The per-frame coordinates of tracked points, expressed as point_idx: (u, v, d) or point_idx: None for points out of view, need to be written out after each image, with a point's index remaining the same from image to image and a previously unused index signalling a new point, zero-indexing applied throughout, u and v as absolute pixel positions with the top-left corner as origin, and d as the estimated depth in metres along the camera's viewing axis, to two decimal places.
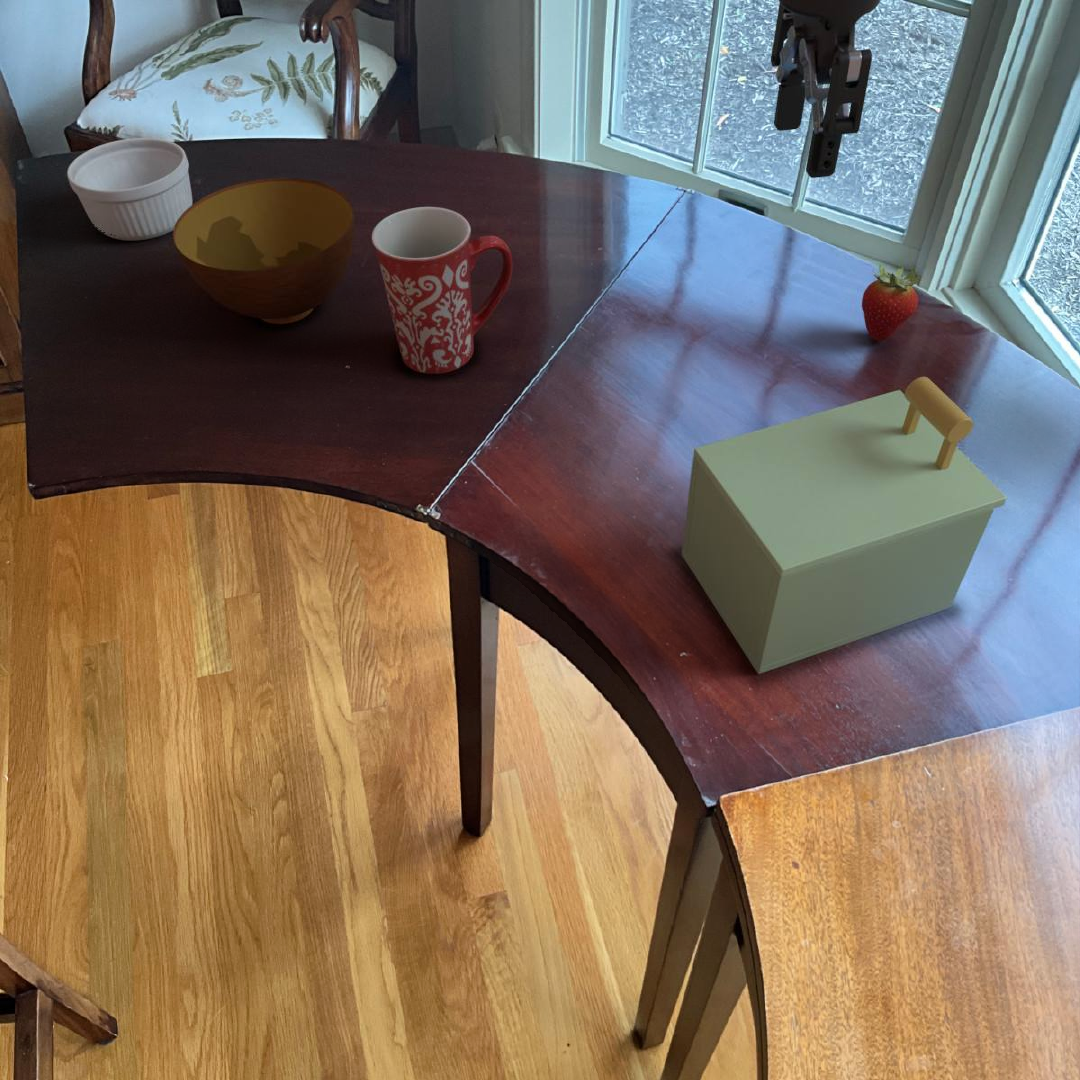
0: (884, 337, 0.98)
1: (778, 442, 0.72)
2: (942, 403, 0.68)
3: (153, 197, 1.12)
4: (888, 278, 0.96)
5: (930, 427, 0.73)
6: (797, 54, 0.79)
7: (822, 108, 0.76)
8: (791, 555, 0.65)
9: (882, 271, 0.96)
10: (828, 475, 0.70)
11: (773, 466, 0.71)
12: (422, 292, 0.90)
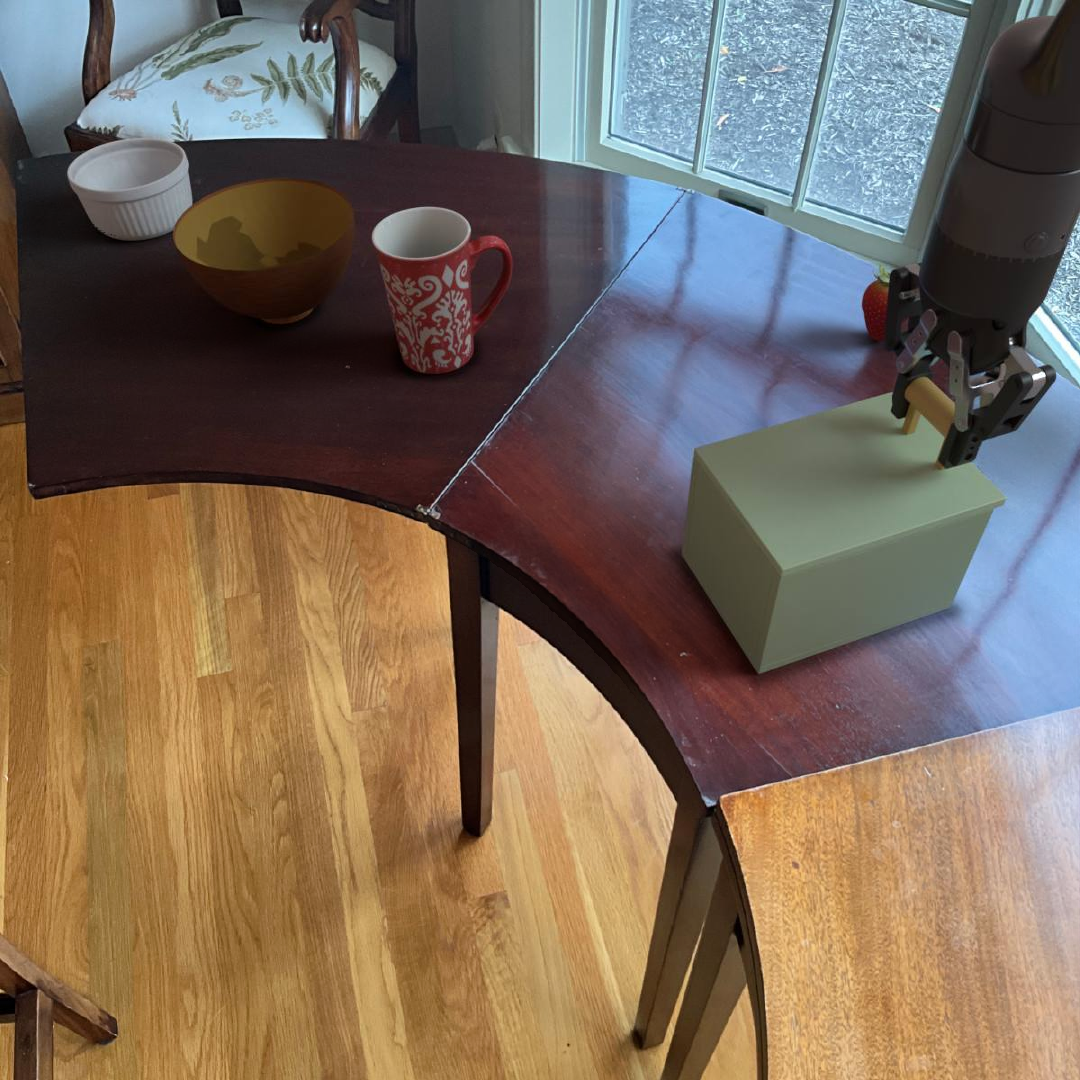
0: None
1: (778, 442, 0.72)
2: (942, 403, 0.68)
3: (153, 197, 1.12)
4: (888, 278, 0.96)
5: (930, 428, 0.73)
6: None
7: (971, 408, 0.64)
8: (791, 555, 0.65)
9: (882, 271, 0.96)
10: (828, 475, 0.70)
11: (773, 466, 0.71)
12: (422, 292, 0.90)
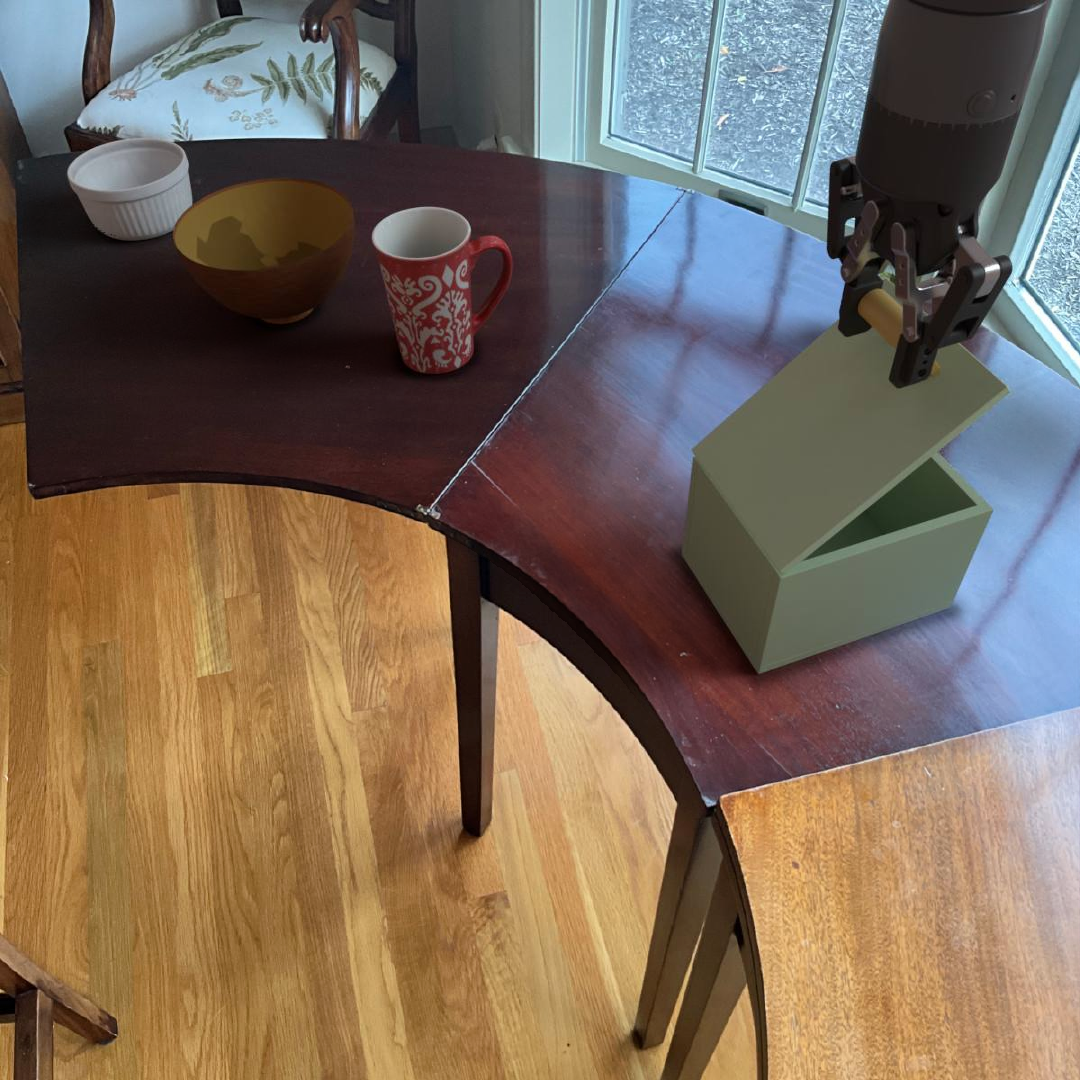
0: None
1: (766, 409, 0.69)
2: (889, 323, 0.60)
3: (153, 197, 1.12)
4: (888, 278, 0.96)
5: None
6: None
7: (920, 313, 0.56)
8: (785, 551, 0.64)
9: None
10: (816, 433, 0.66)
11: (763, 443, 0.68)
12: (422, 292, 0.90)
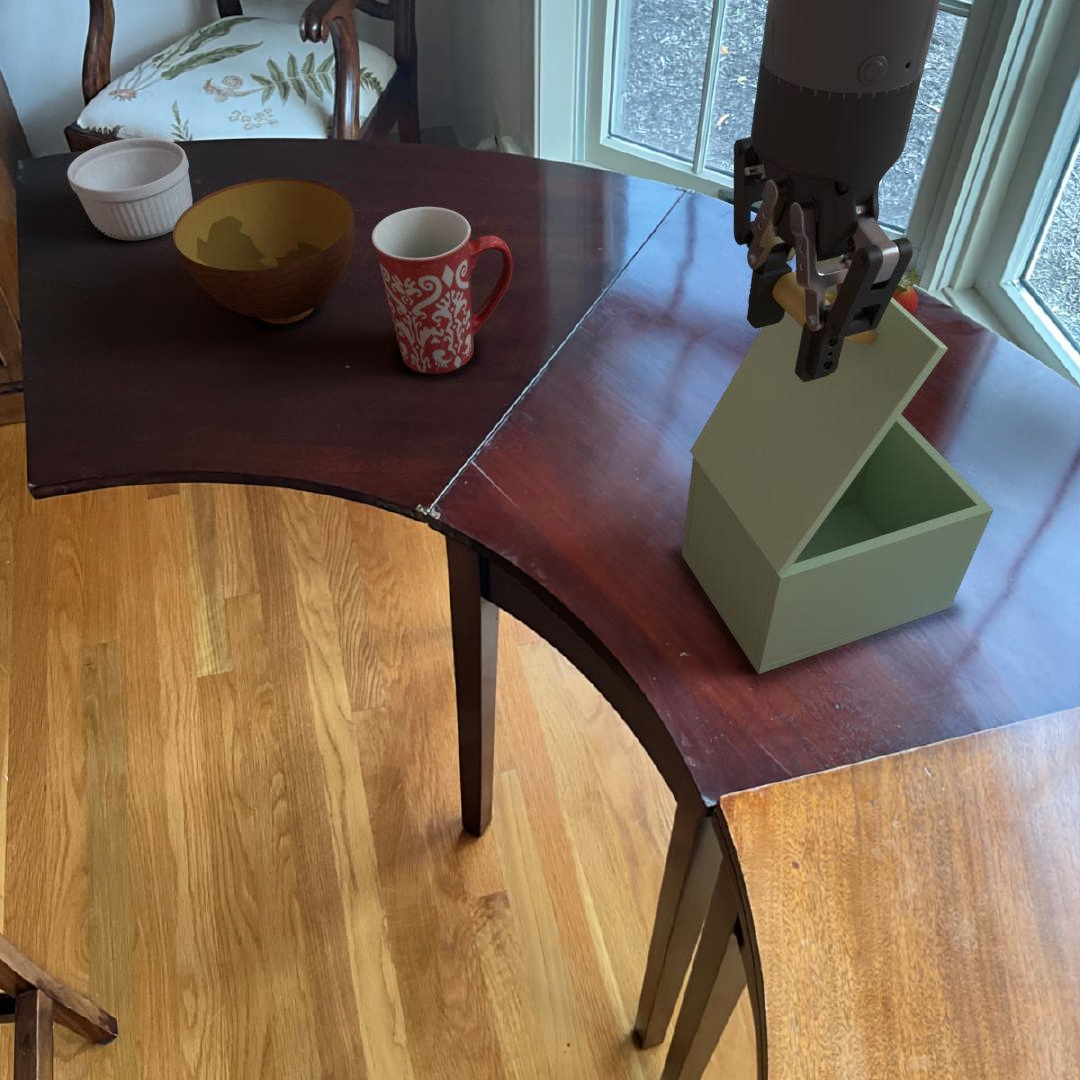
0: None
1: (740, 400, 0.68)
2: (799, 314, 0.57)
3: (153, 197, 1.12)
4: None
5: None
6: None
7: (822, 301, 0.53)
8: (778, 551, 0.64)
9: None
10: (784, 421, 0.64)
11: (744, 437, 0.67)
12: (422, 292, 0.90)
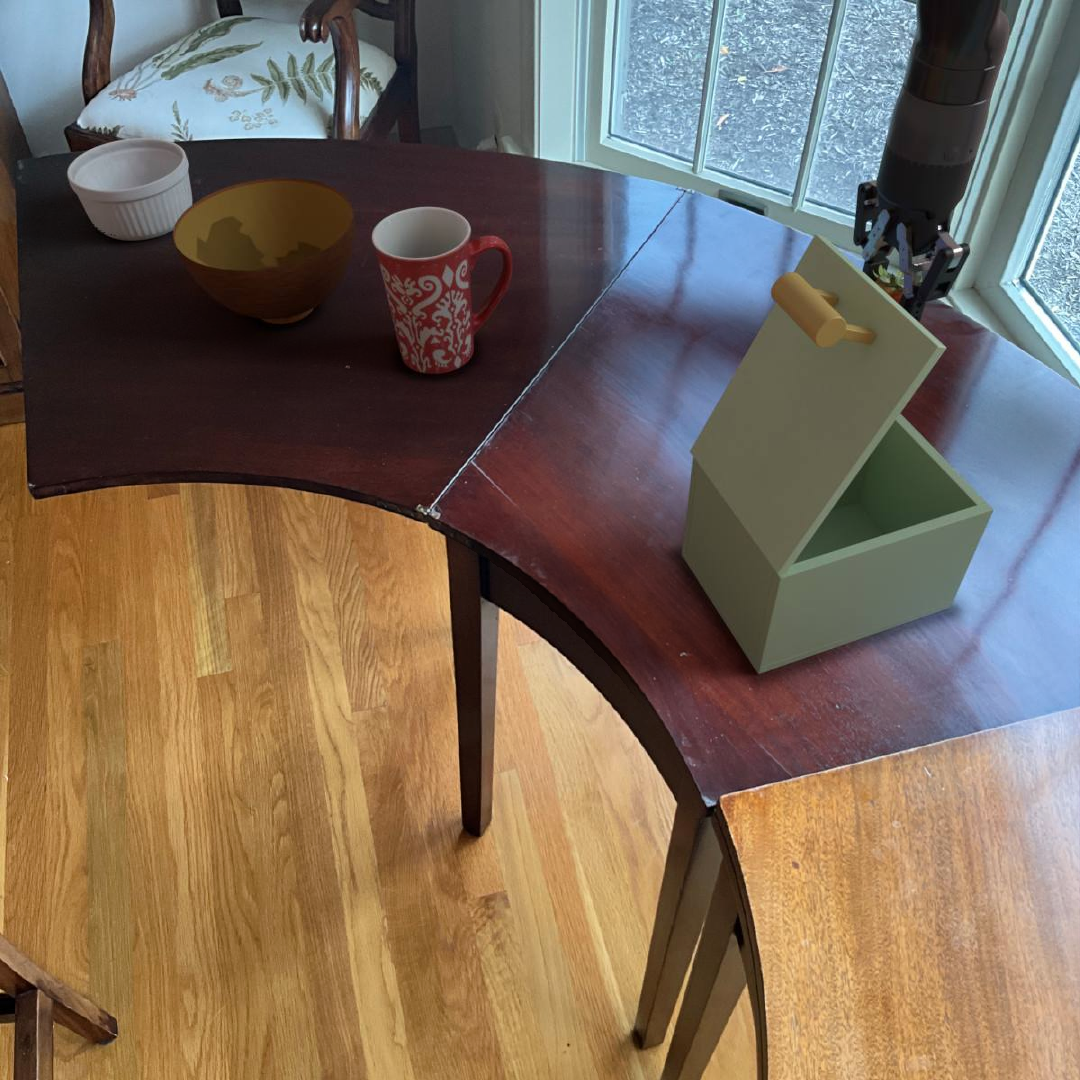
0: None
1: (740, 400, 0.68)
2: (797, 315, 0.57)
3: (153, 197, 1.12)
4: (888, 278, 0.96)
5: (851, 278, 0.59)
6: None
7: (914, 280, 0.90)
8: (778, 551, 0.64)
9: (882, 271, 0.96)
10: (783, 421, 0.64)
11: (743, 437, 0.67)
12: (422, 292, 0.90)
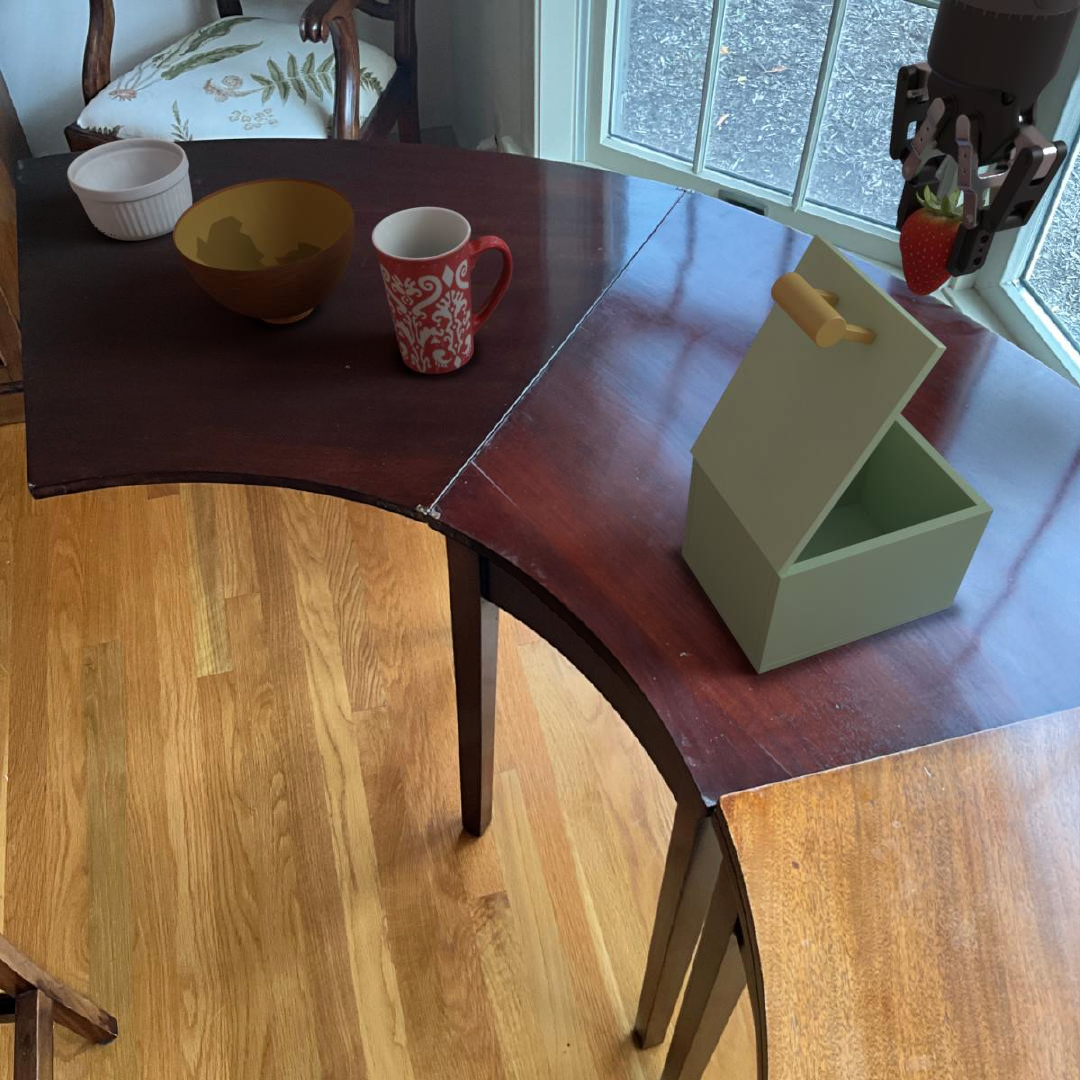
0: (930, 290, 0.70)
1: (740, 400, 0.68)
2: (797, 315, 0.57)
3: (153, 197, 1.12)
4: (937, 205, 0.68)
5: (851, 278, 0.59)
6: None
7: (980, 201, 0.62)
8: (778, 551, 0.64)
9: (929, 195, 0.68)
10: (783, 421, 0.64)
11: (743, 437, 0.67)
12: (422, 292, 0.90)
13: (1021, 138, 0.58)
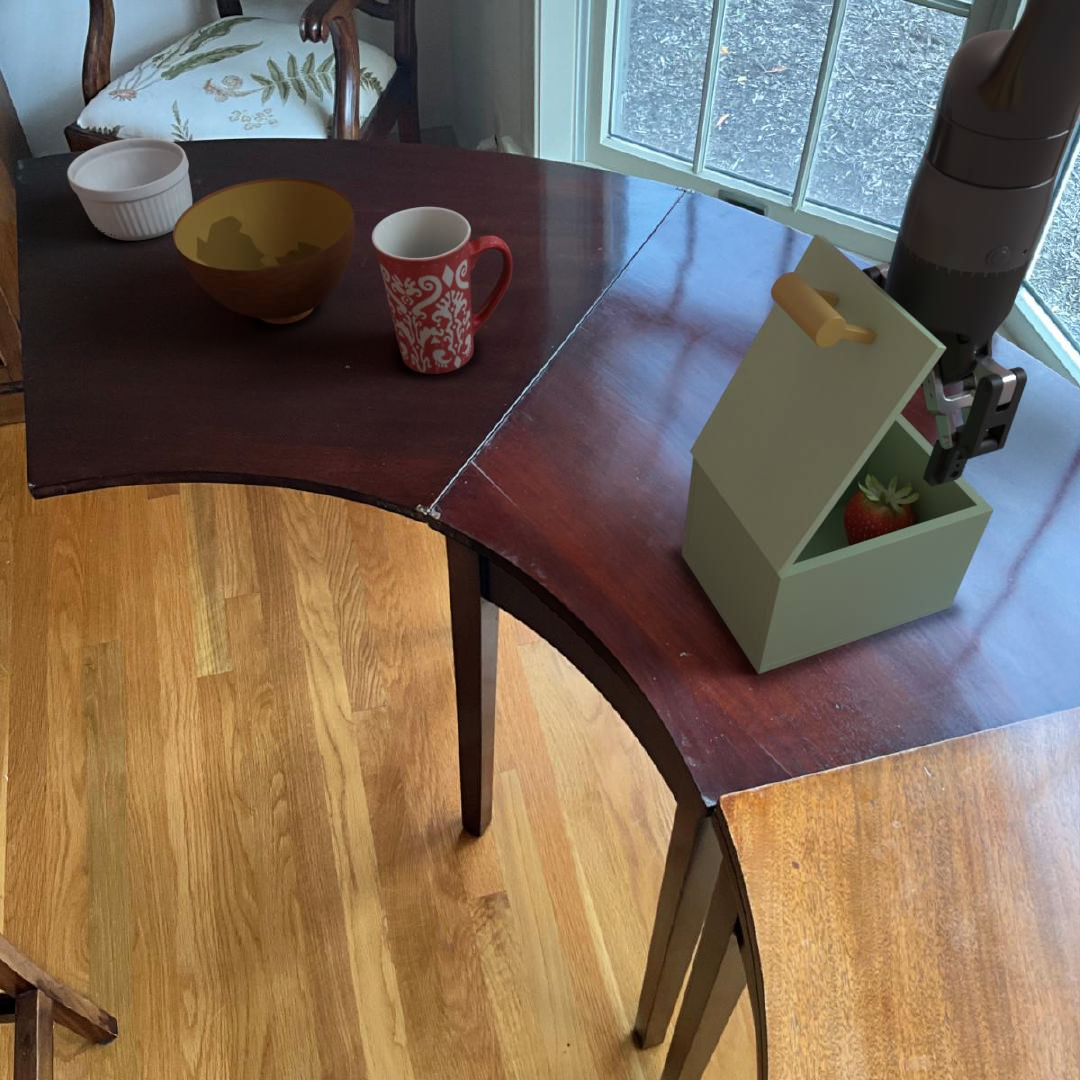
0: None
1: (740, 400, 0.68)
2: (797, 315, 0.57)
3: (153, 197, 1.12)
4: (877, 490, 0.75)
5: (851, 278, 0.59)
6: None
7: (952, 422, 0.63)
8: (778, 551, 0.64)
9: (870, 481, 0.75)
10: (783, 421, 0.64)
11: (743, 437, 0.67)
12: (422, 292, 0.90)
13: (979, 368, 0.60)
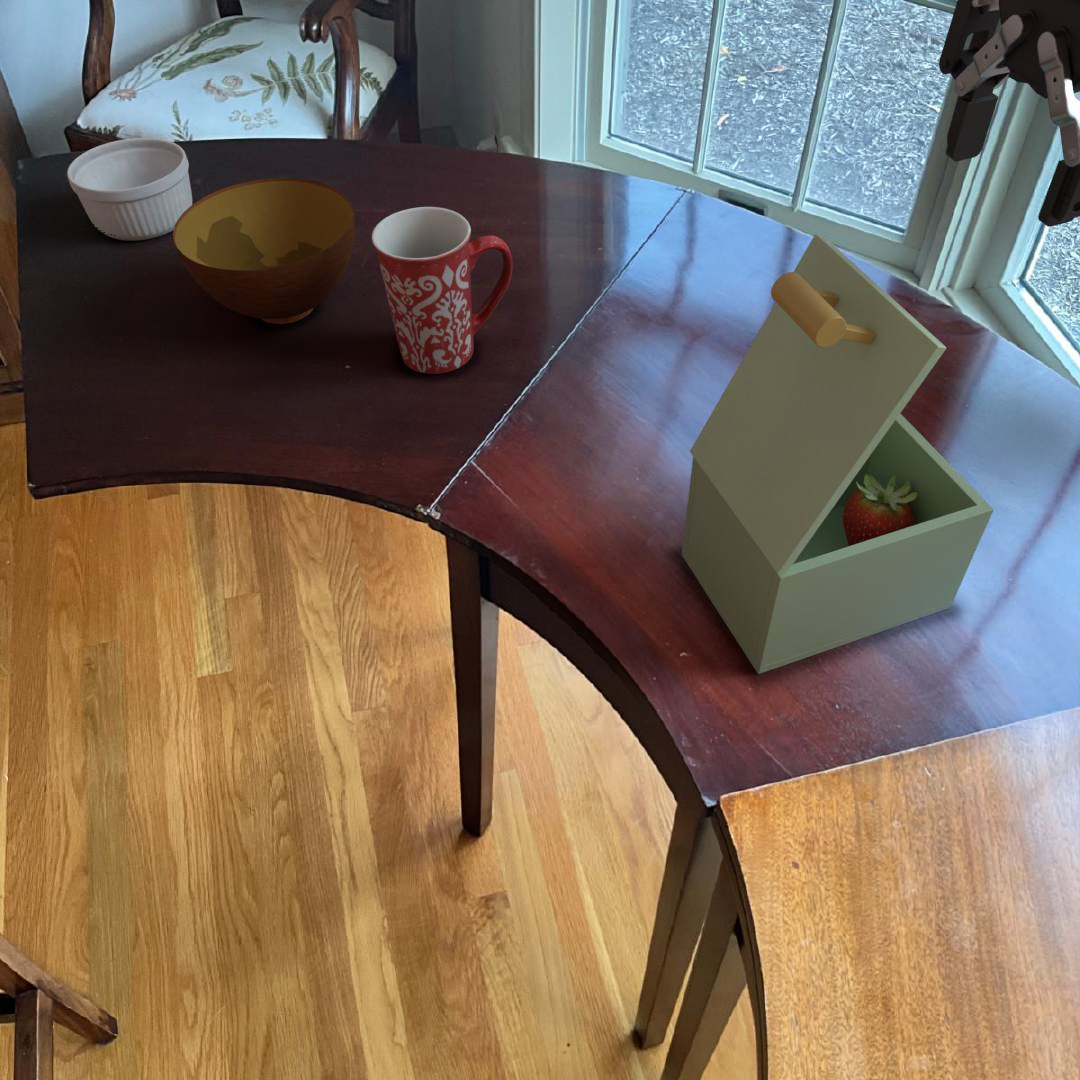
0: None
1: (740, 400, 0.68)
2: (797, 315, 0.57)
3: (153, 197, 1.12)
4: (876, 490, 0.75)
5: (851, 278, 0.59)
6: (1013, 55, 0.55)
7: None
8: (778, 551, 0.64)
9: (868, 481, 0.75)
10: (783, 421, 0.64)
11: (743, 437, 0.67)
12: (422, 292, 0.90)
13: None
